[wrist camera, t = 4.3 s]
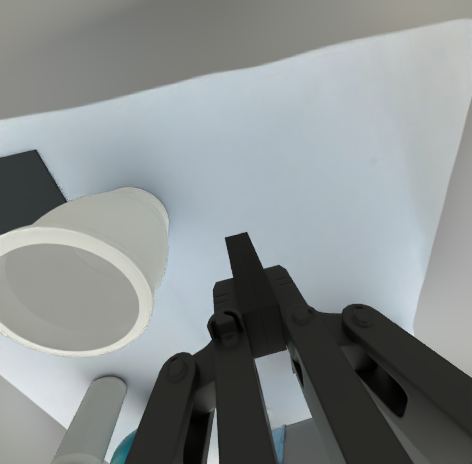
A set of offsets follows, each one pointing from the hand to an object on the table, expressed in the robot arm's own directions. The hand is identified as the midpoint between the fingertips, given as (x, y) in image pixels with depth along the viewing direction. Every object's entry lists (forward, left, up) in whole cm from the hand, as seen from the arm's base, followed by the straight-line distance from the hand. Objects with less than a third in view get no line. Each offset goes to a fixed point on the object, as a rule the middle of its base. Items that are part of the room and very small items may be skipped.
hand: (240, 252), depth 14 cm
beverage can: (+28, +29, -15) cm, 43 cm away
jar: (+11, 0, -15) cm, 19 cm away
